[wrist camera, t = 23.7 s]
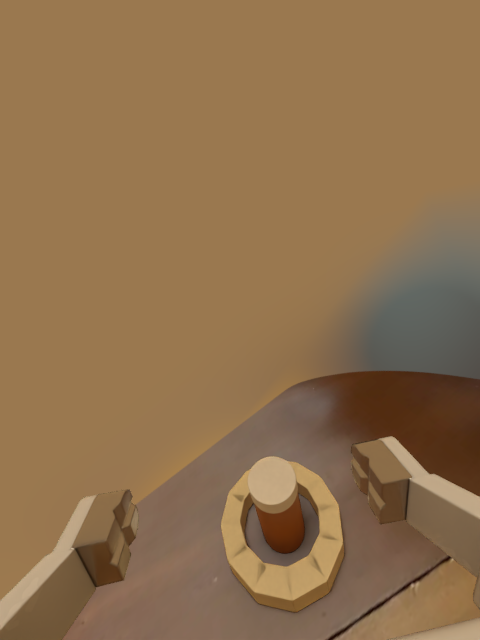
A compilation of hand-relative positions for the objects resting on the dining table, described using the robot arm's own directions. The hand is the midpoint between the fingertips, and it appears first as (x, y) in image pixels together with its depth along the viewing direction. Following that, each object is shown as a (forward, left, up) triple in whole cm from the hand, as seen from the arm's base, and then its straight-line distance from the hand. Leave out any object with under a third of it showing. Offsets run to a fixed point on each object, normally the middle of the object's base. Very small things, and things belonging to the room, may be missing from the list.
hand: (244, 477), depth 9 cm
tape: (-11, +3, -26) cm, 29 cm away
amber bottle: (-11, +3, -26) cm, 29 cm away
